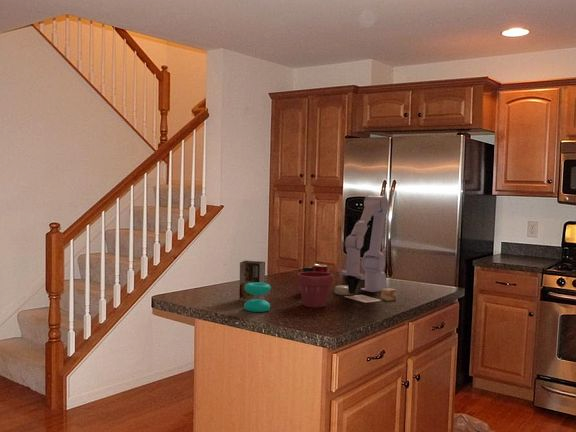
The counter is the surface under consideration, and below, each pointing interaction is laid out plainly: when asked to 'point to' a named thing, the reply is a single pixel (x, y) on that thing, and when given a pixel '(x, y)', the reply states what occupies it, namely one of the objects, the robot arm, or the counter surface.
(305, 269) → the supplement bottle
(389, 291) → the maple block
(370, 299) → the letter
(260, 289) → the donuts
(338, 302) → the counter surface
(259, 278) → the coffee box
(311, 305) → the plant pot
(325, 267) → the soda can
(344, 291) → the puck
